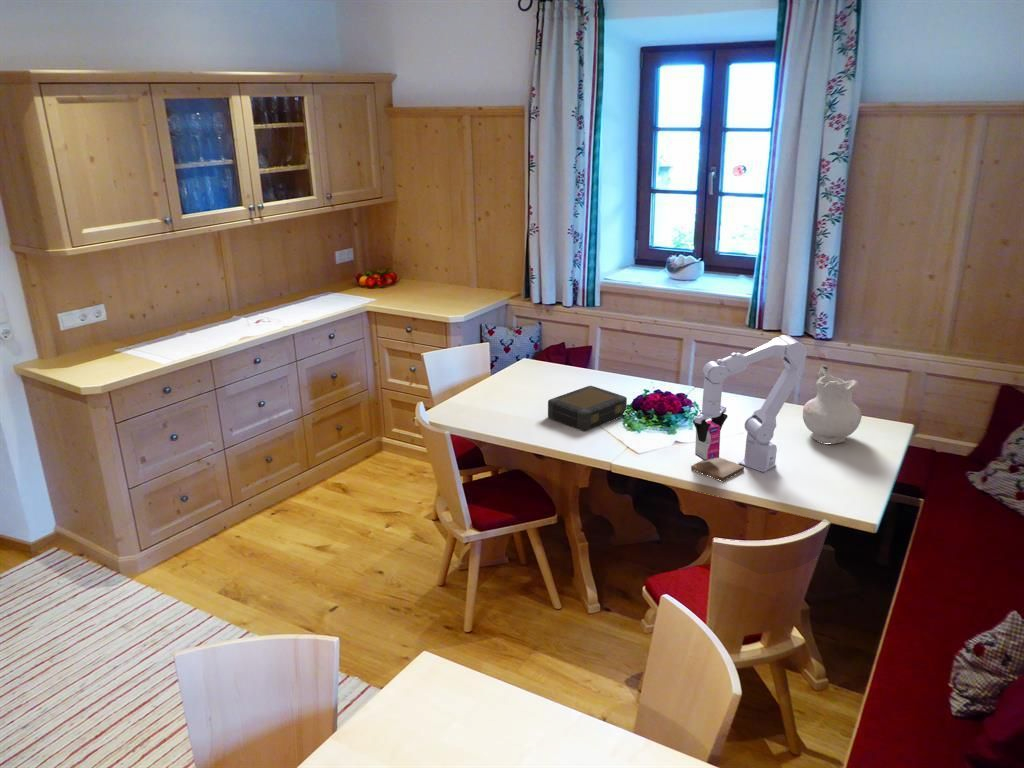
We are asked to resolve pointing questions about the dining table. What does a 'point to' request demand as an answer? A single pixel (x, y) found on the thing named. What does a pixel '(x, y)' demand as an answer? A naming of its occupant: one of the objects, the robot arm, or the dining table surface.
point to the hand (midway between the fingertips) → (708, 437)
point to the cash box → (586, 408)
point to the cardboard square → (718, 468)
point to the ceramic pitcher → (832, 409)
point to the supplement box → (709, 443)
